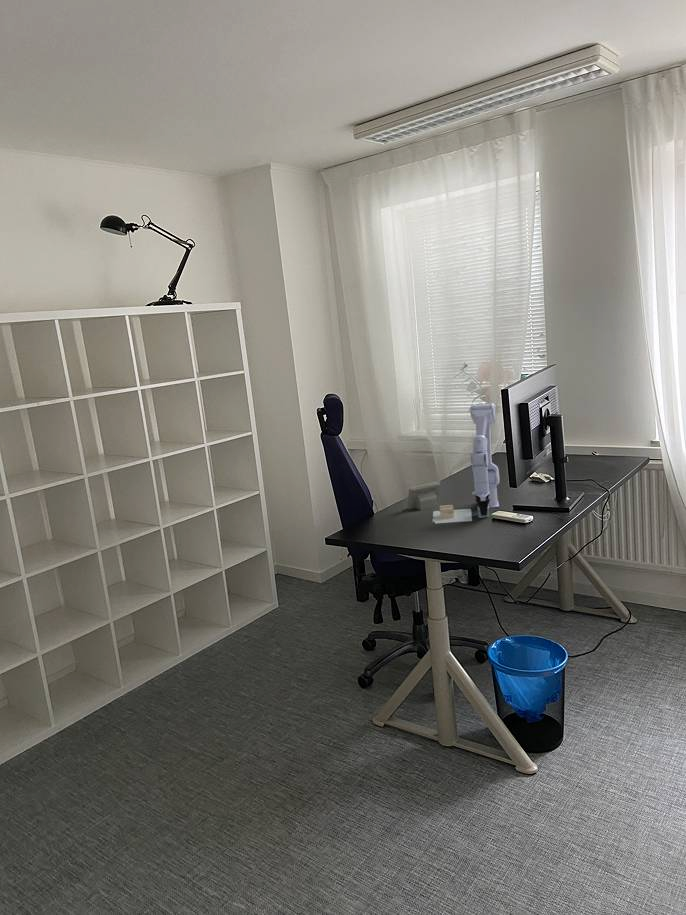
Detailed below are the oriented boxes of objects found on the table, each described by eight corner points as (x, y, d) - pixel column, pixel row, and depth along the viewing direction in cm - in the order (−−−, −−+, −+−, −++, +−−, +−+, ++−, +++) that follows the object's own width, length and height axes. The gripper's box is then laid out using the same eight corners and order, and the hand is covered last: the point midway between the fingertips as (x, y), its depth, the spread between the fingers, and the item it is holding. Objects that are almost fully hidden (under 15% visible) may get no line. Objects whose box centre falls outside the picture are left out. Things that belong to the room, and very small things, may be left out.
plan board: (433, 512, 307) (433, 511, 307) (470, 509, 304) (470, 508, 304) (432, 524, 289) (432, 523, 289) (472, 521, 287) (472, 520, 286)
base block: (440, 514, 300) (439, 505, 299) (453, 513, 299) (453, 504, 298) (440, 518, 295) (439, 509, 294) (453, 517, 294) (453, 508, 293)
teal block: (478, 515, 294) (477, 506, 293) (489, 515, 293) (488, 505, 293) (478, 518, 290) (477, 509, 289) (489, 518, 289) (489, 508, 288)
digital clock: (438, 502, 322) (436, 479, 320) (446, 506, 313) (443, 483, 311) (404, 508, 318) (402, 485, 316) (411, 513, 310) (408, 489, 308)
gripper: (470, 477, 296) (473, 509, 299) (471, 486, 282) (474, 519, 285) (487, 476, 295) (490, 508, 298) (489, 485, 281) (492, 517, 284)
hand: (483, 513), depth 291 cm, fingers closed on teal block, 4 cm apart
